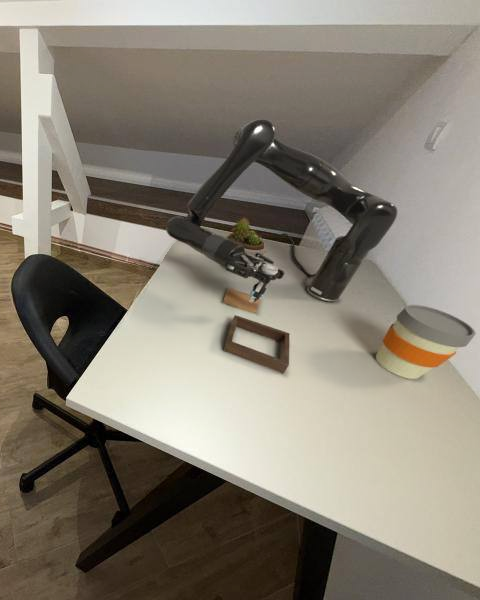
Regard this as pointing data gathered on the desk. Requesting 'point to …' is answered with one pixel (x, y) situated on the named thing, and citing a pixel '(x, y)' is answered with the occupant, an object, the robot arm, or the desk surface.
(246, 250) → the flowerpot
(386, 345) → the reusable coffee cup
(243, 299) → the cork mat
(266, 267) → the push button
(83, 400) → the desk surface
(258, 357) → the walnut frame
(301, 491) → the desk surface
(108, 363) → the desk surface
